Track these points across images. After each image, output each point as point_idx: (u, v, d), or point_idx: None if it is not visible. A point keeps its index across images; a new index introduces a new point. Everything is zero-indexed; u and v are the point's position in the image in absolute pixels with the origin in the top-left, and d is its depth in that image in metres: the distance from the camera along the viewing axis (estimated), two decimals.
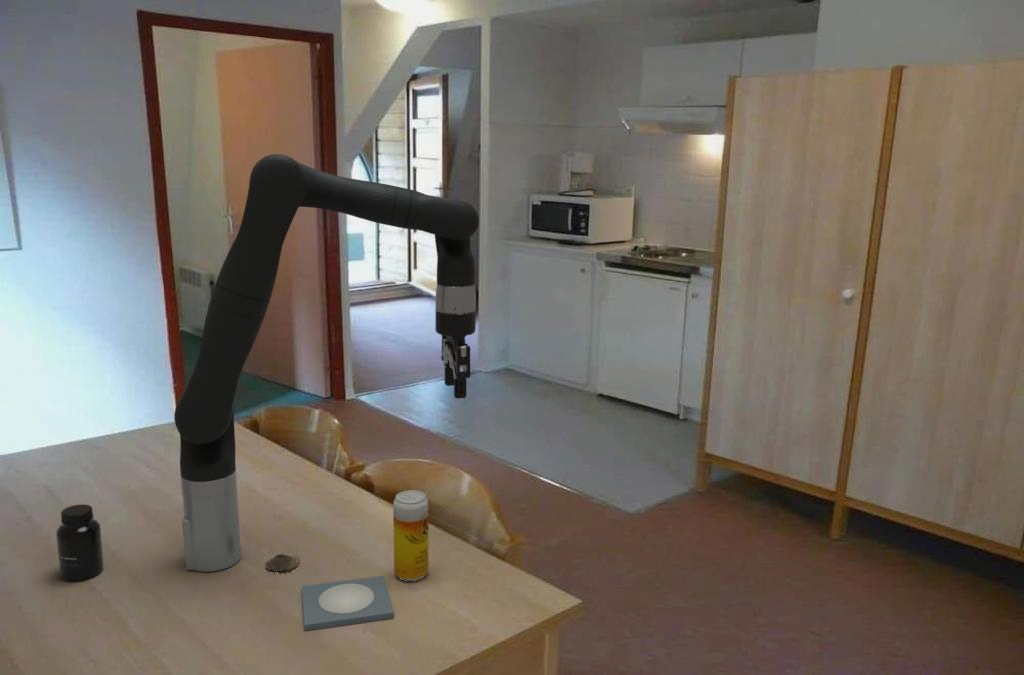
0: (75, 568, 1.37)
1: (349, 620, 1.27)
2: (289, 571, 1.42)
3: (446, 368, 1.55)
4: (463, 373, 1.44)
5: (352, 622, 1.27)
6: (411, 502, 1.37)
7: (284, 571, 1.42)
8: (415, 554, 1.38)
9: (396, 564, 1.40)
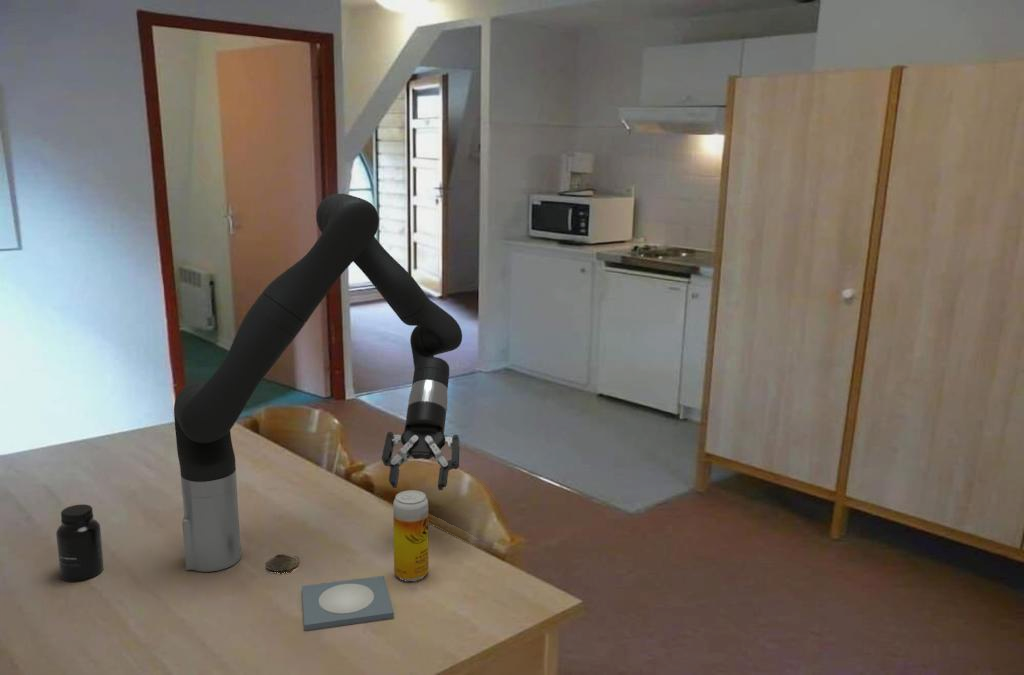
0: (75, 568, 1.37)
1: (349, 620, 1.27)
2: (289, 571, 1.42)
3: (397, 466, 1.47)
4: None
5: (352, 622, 1.27)
6: (411, 502, 1.37)
7: (284, 571, 1.42)
8: (415, 554, 1.38)
9: (396, 564, 1.40)
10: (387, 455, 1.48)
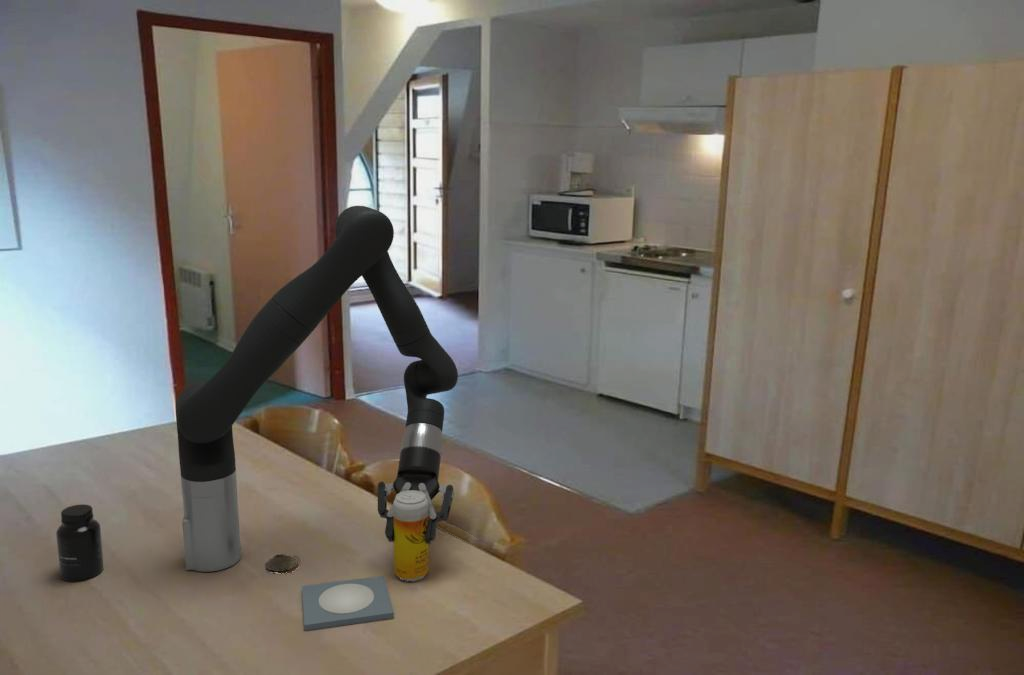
0: (75, 568, 1.37)
1: (349, 620, 1.27)
2: (290, 571, 1.42)
3: None
4: (446, 513, 1.41)
5: (352, 622, 1.27)
6: (411, 502, 1.37)
7: (285, 571, 1.42)
8: (415, 554, 1.38)
9: (396, 564, 1.40)
10: (383, 506, 1.41)
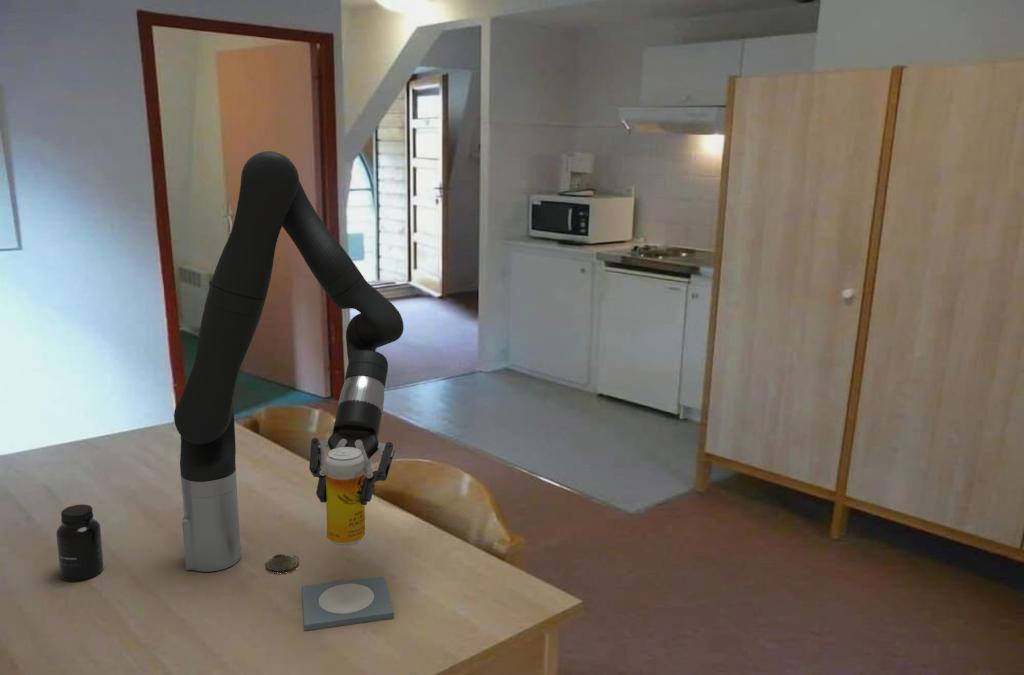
0: (75, 568, 1.37)
1: (349, 620, 1.27)
2: (291, 570, 1.42)
3: None
4: (385, 473, 1.30)
5: (352, 622, 1.27)
6: (344, 458, 1.25)
7: (286, 570, 1.42)
8: (349, 516, 1.26)
9: (328, 526, 1.28)
10: (315, 464, 1.29)
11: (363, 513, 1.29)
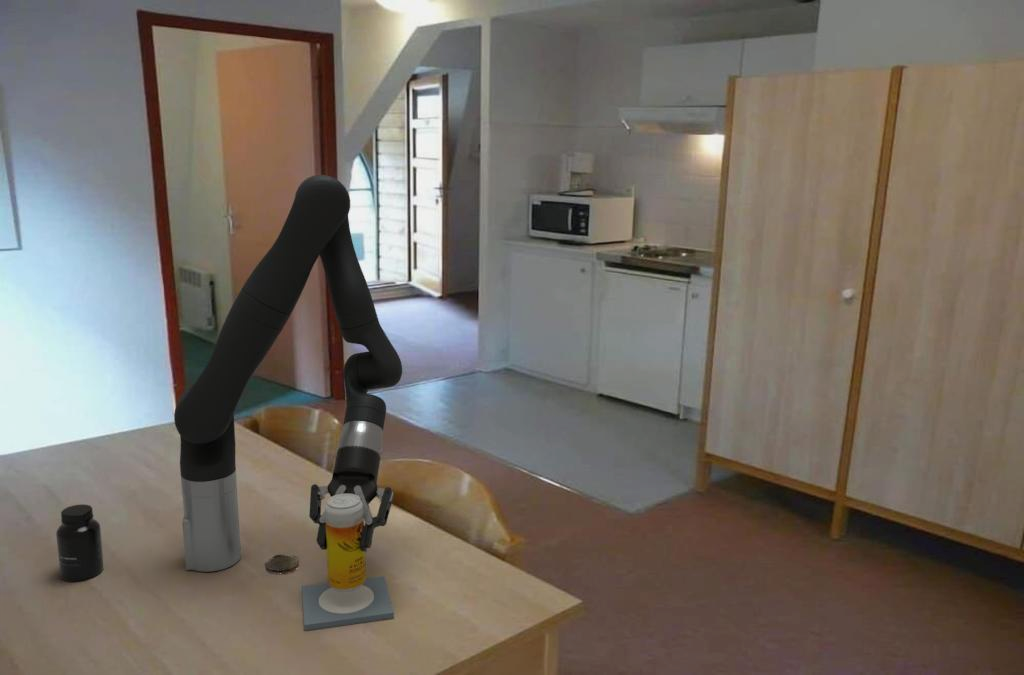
0: (75, 568, 1.37)
1: (349, 620, 1.27)
2: (291, 570, 1.42)
3: None
4: (384, 518, 1.31)
5: (352, 622, 1.27)
6: (343, 506, 1.26)
7: (286, 570, 1.42)
8: (349, 563, 1.28)
9: (329, 573, 1.29)
10: (315, 511, 1.31)
11: (363, 559, 1.30)
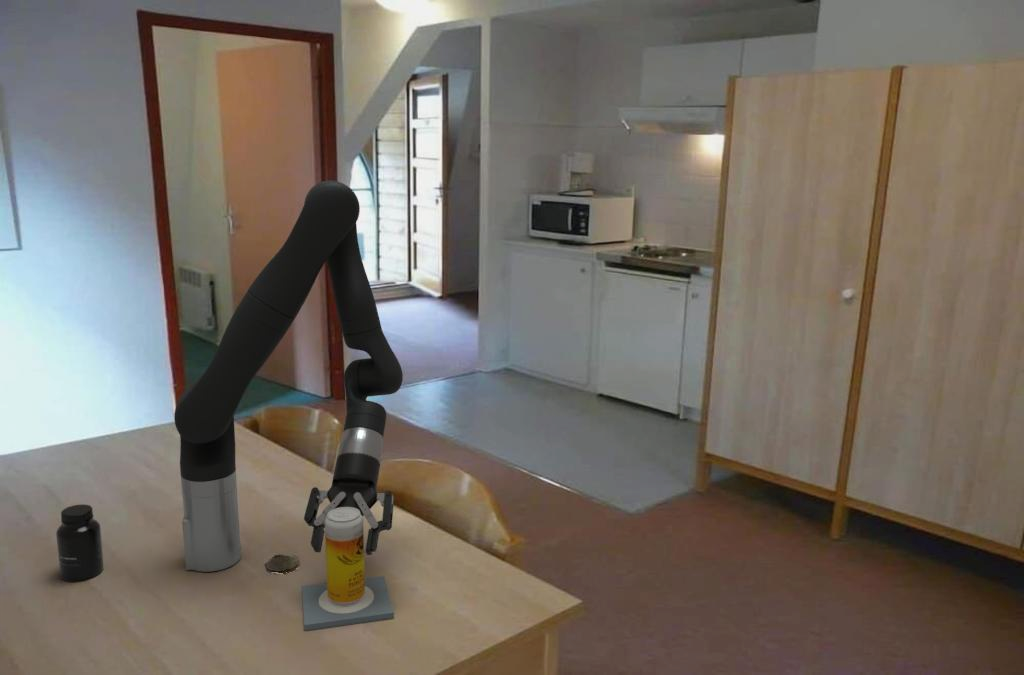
0: (75, 568, 1.37)
1: (349, 620, 1.27)
2: (292, 570, 1.42)
3: (321, 528, 1.30)
4: (389, 522, 1.31)
5: (352, 622, 1.27)
6: (343, 520, 1.27)
7: (287, 570, 1.42)
8: (348, 576, 1.28)
9: (328, 586, 1.30)
10: (310, 515, 1.31)
11: (363, 572, 1.31)
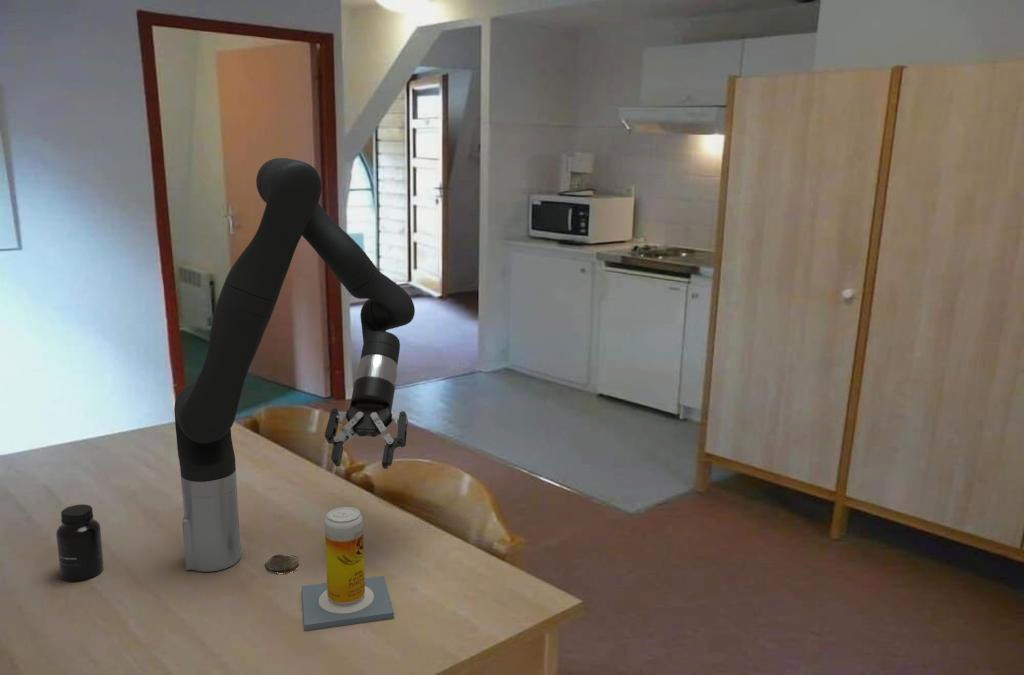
0: (75, 568, 1.37)
1: (349, 620, 1.27)
2: (292, 570, 1.43)
3: (340, 444, 1.40)
4: (404, 439, 1.41)
5: (352, 622, 1.27)
6: (343, 520, 1.27)
7: (287, 570, 1.42)
8: (348, 576, 1.28)
9: (328, 586, 1.30)
10: (330, 432, 1.41)
11: (363, 572, 1.31)
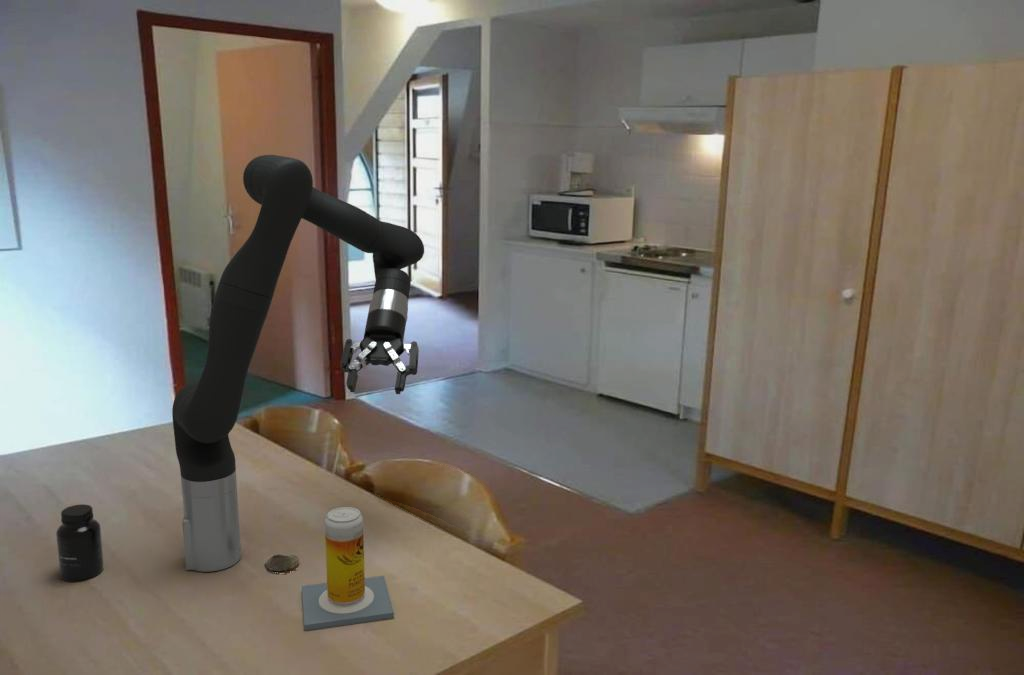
0: (75, 568, 1.37)
1: (349, 620, 1.27)
2: (293, 569, 1.43)
3: (355, 371, 1.47)
4: (415, 367, 1.49)
5: (352, 622, 1.27)
6: (343, 520, 1.27)
7: (288, 570, 1.42)
8: (348, 576, 1.28)
9: (328, 586, 1.30)
10: (345, 360, 1.48)
11: (363, 572, 1.31)
